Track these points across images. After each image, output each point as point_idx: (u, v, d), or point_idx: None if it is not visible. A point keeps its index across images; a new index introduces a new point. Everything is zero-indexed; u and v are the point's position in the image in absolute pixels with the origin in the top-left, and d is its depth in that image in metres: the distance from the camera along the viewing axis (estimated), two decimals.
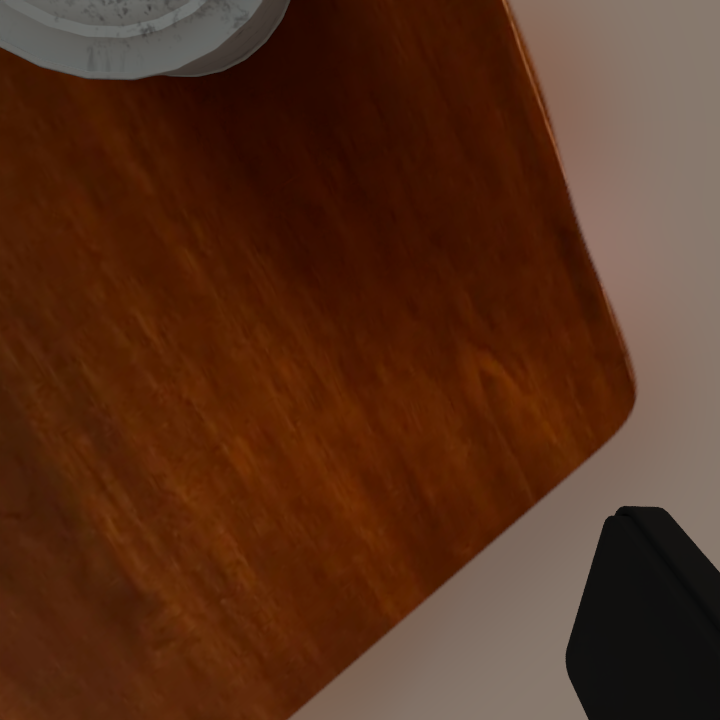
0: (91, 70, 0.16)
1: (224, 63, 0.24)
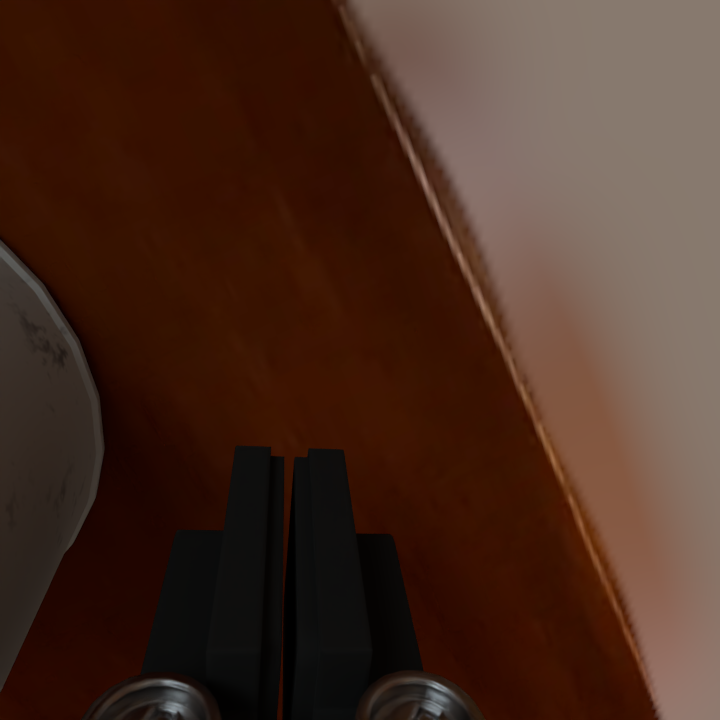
0: None
1: None
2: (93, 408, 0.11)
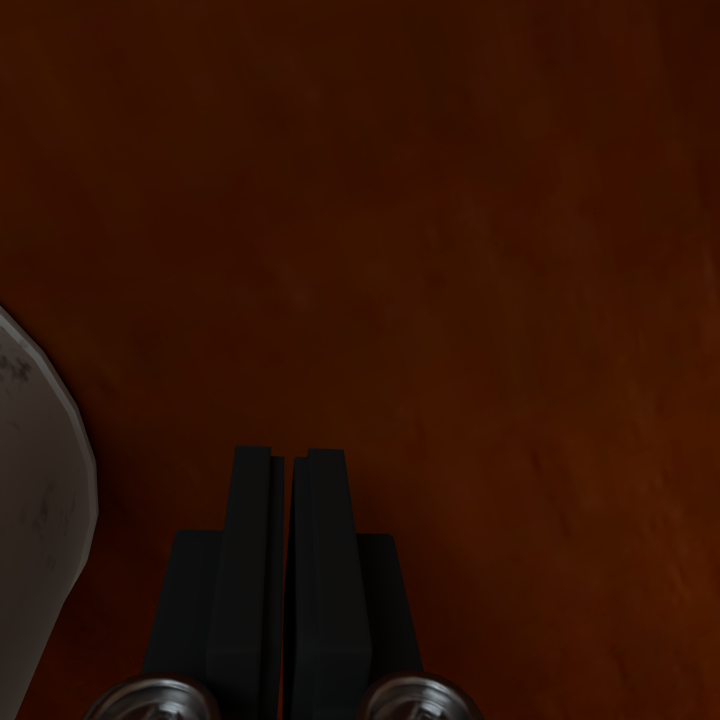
0: None
1: None
2: (73, 421, 0.11)
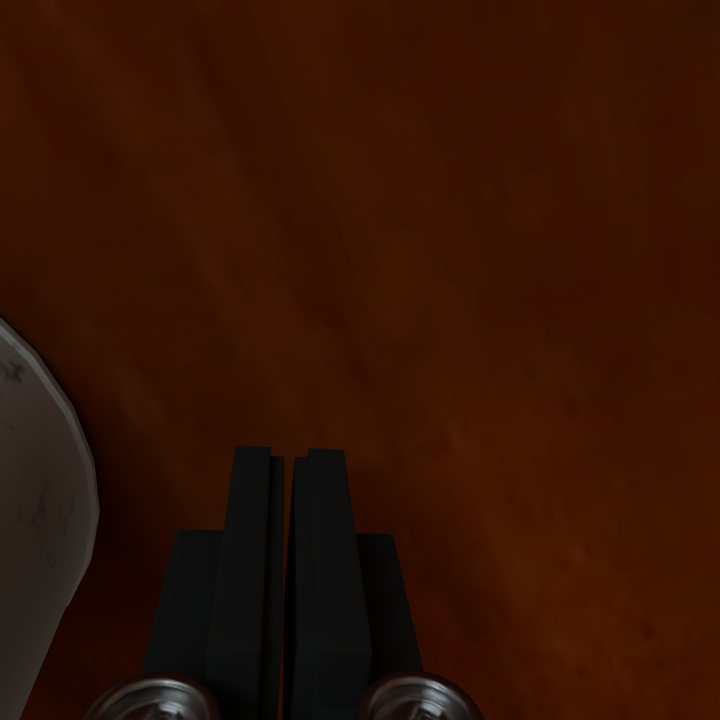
0: None
1: None
2: (69, 421, 0.11)
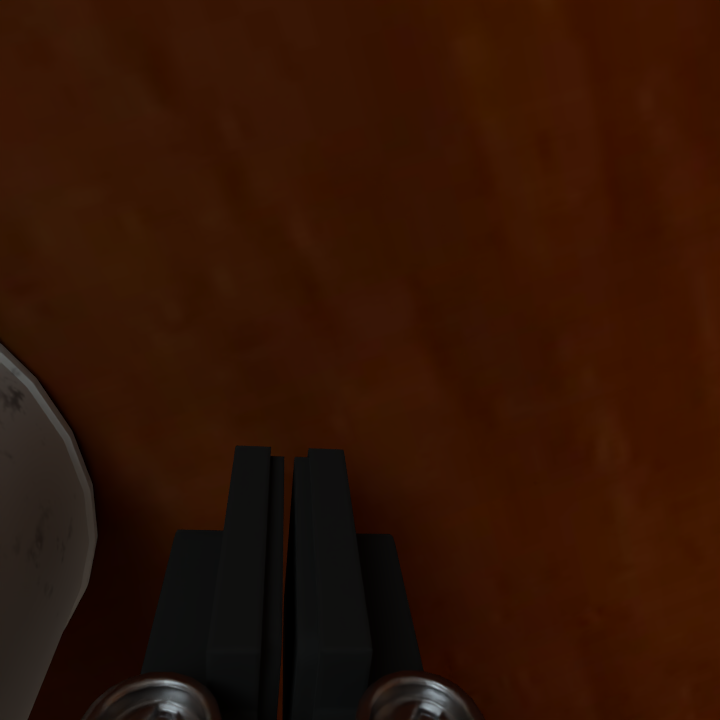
0: None
1: None
2: (68, 446, 0.11)
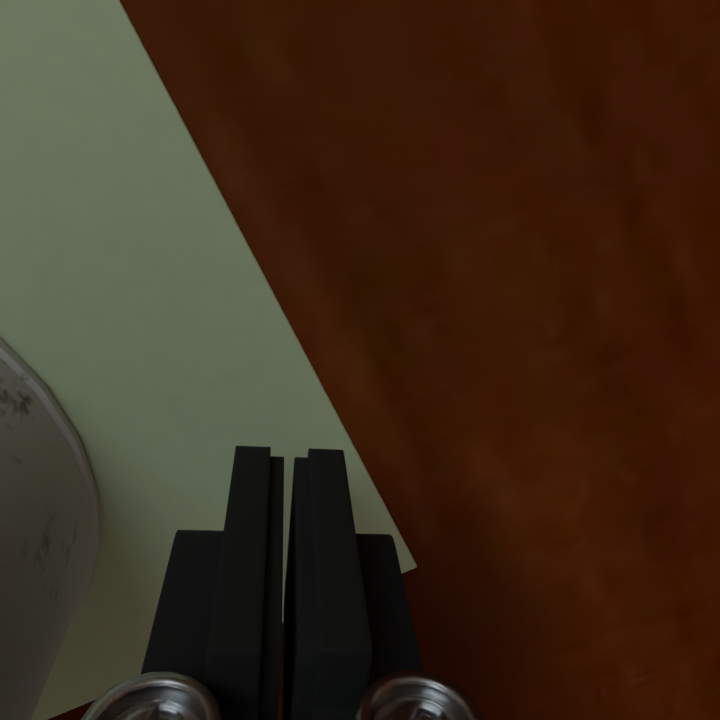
0: None
1: None
2: (74, 451, 0.11)
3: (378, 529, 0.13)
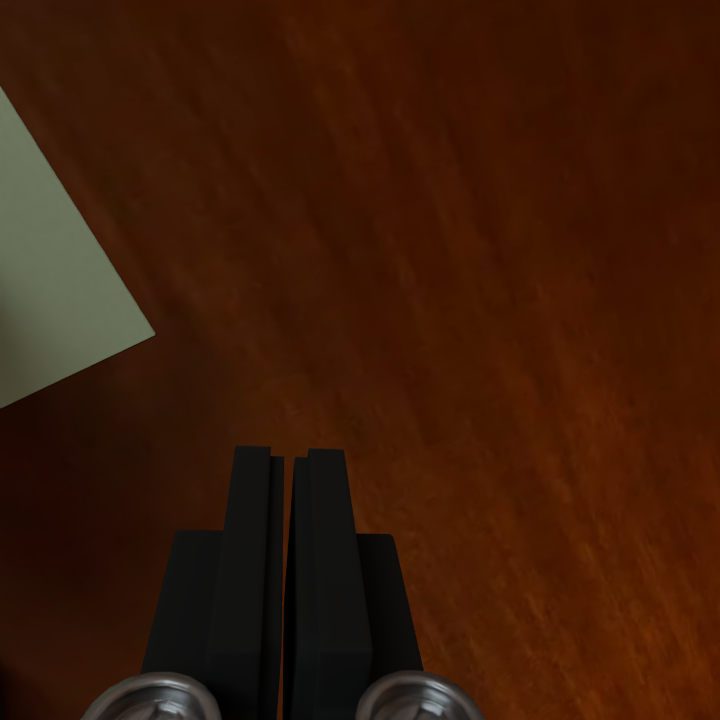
0: None
1: None
2: None
3: (131, 311, 0.25)
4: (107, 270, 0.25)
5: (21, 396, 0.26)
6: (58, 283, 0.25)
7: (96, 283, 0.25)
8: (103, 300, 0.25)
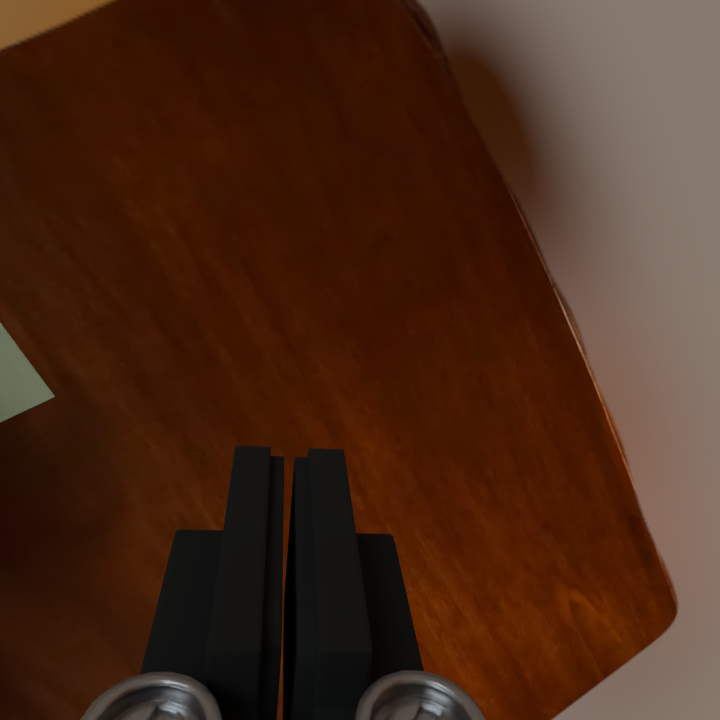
0: None
1: None
2: None
3: (37, 381, 0.38)
4: (19, 356, 0.37)
5: None
6: None
7: (12, 364, 0.37)
8: (17, 375, 0.37)
